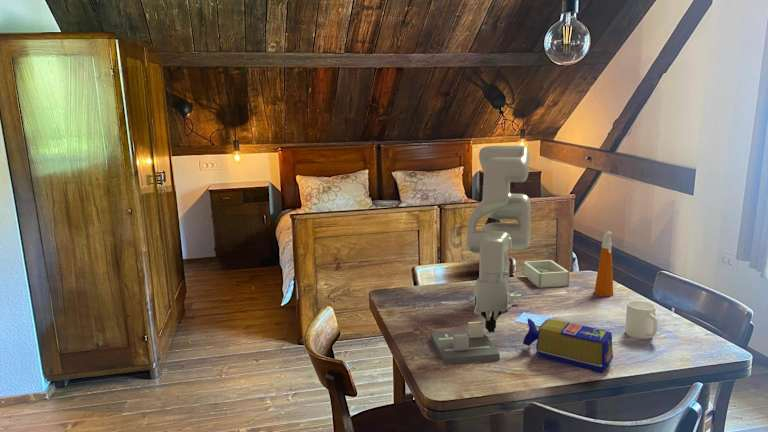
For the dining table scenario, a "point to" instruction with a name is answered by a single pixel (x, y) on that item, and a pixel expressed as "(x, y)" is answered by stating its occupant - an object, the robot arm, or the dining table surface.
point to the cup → (641, 320)
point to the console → (477, 350)
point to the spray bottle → (605, 268)
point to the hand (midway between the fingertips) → (490, 330)
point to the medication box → (542, 270)
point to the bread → (572, 344)
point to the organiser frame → (548, 279)
